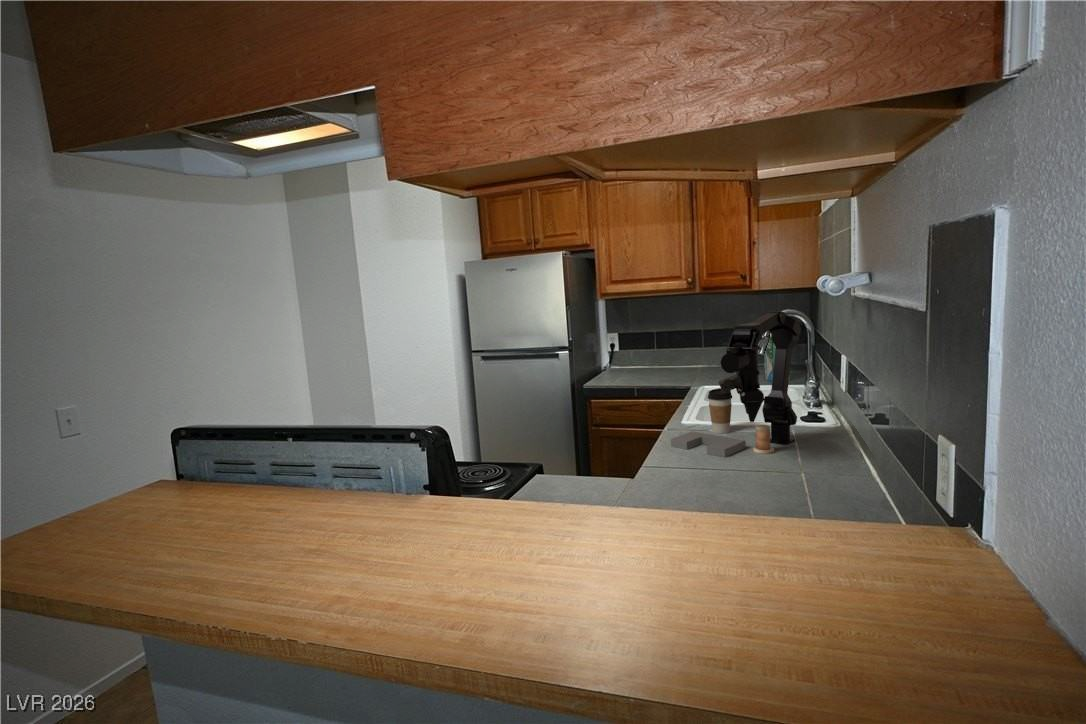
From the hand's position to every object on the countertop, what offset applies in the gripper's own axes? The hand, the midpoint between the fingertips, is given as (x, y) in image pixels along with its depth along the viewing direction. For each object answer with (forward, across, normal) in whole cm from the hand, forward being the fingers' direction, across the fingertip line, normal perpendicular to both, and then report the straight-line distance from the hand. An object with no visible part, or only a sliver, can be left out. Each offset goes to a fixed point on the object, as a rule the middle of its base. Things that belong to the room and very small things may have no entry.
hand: (750, 417), depth 167 cm
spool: (+12, -5, +4) cm, 14 cm away
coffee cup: (+13, -29, -7) cm, 32 cm away
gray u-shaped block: (+12, -9, -13) cm, 20 cm away
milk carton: (+16, -129, +26) cm, 132 cm away
